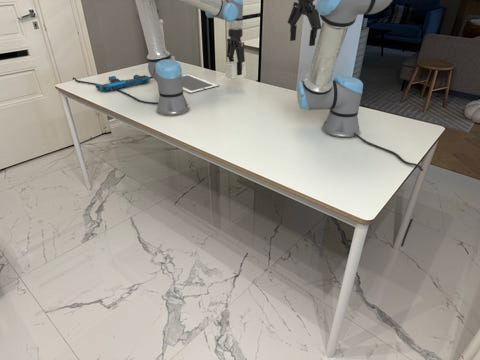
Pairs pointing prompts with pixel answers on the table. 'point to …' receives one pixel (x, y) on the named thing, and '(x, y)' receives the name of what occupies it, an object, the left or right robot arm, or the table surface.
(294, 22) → the right robot arm
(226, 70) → the block
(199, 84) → the tablet
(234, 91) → the table surface
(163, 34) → the flag stand
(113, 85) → the submachine gun
